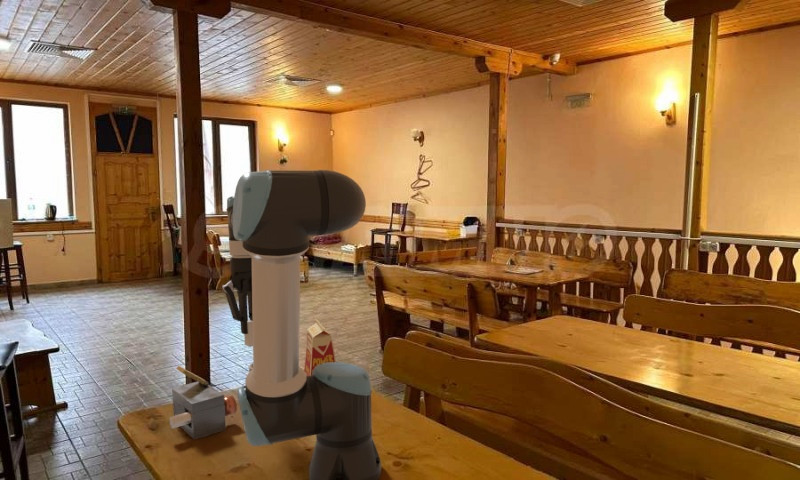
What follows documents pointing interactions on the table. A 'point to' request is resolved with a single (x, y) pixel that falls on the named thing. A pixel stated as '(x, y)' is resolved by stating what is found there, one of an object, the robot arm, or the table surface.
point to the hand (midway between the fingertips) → (249, 345)
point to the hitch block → (200, 408)
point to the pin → (186, 417)
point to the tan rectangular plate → (192, 376)
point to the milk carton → (318, 348)
